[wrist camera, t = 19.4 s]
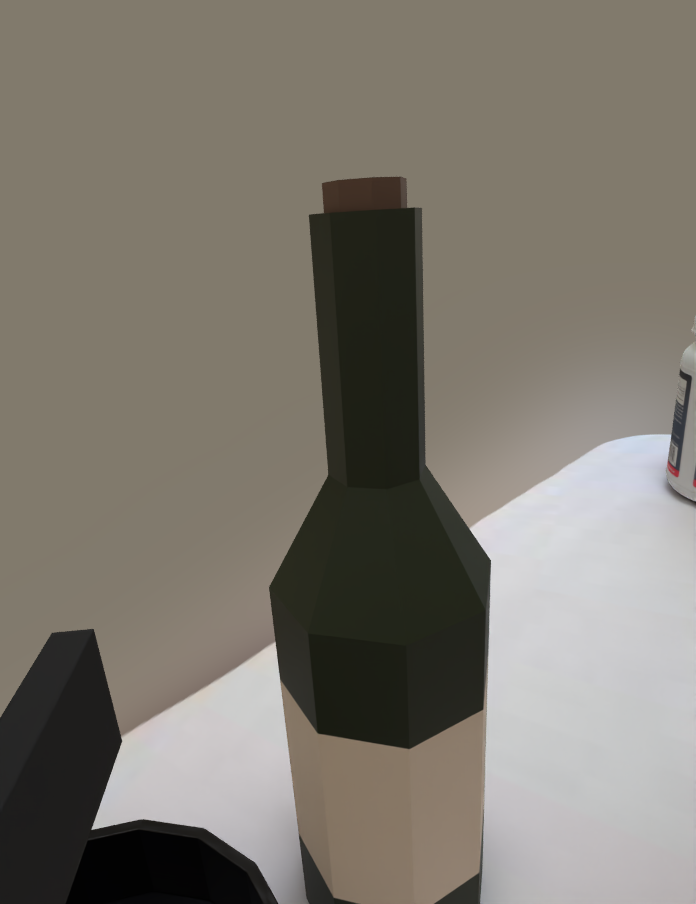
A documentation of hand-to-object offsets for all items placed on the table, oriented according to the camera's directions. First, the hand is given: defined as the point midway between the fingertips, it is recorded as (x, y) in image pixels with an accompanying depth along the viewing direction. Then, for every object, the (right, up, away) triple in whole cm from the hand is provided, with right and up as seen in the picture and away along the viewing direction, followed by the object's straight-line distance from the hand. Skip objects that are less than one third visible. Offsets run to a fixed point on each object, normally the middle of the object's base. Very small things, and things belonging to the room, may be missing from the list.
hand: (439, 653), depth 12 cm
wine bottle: (0, -16, +16) cm, 23 cm away
